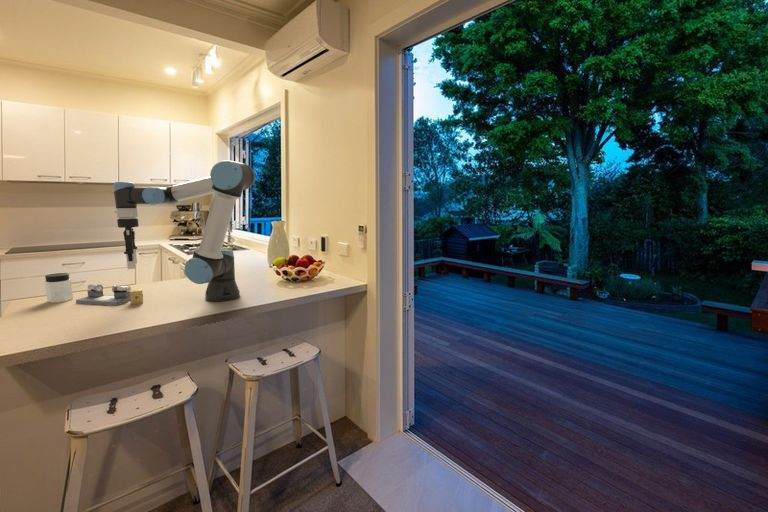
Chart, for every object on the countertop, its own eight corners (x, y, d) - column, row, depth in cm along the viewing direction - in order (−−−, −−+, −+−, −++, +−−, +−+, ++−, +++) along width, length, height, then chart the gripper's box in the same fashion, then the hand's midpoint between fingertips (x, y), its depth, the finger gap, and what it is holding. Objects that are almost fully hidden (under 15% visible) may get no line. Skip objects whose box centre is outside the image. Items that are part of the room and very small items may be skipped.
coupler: (143, 301, 171) (142, 288, 170) (143, 303, 167) (142, 290, 166) (131, 302, 168) (130, 289, 167) (130, 305, 164) (129, 291, 163)
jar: (45, 304, 164) (42, 277, 162) (49, 299, 171) (45, 274, 169) (71, 301, 169) (68, 275, 167) (74, 297, 176) (71, 272, 174)
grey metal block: (132, 296, 172) (131, 284, 171) (128, 298, 169) (126, 286, 168) (117, 296, 172) (116, 284, 171) (112, 298, 168) (111, 286, 167)
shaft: (87, 296, 172) (85, 284, 171) (95, 294, 175) (94, 282, 174) (95, 297, 169) (94, 285, 168) (104, 296, 173) (103, 284, 172)
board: (134, 299, 173) (133, 295, 173) (116, 305, 163) (115, 301, 163) (96, 297, 176) (96, 293, 176) (76, 303, 166) (75, 299, 166)
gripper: (119, 217, 170) (124, 262, 174) (114, 219, 149) (119, 271, 152) (139, 216, 174) (143, 261, 177) (136, 219, 153) (141, 269, 156)
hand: (132, 266), depth 165 cm, fingers open, 13 cm apart
